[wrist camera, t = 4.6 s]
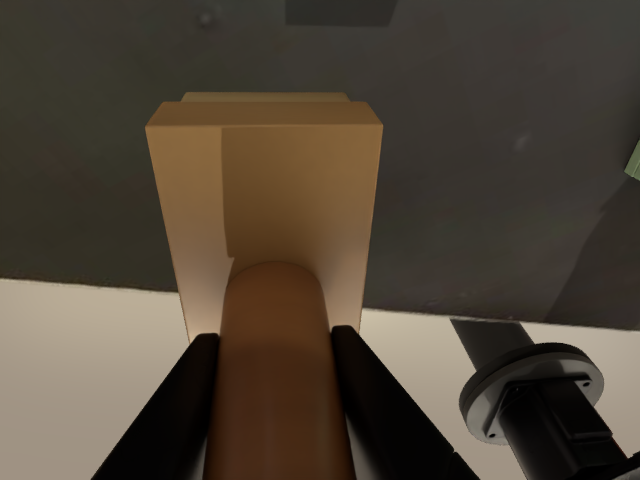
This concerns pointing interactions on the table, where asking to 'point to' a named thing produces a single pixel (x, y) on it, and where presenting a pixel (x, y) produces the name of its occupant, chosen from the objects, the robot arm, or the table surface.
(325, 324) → the brush
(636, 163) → the tray
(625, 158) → the table surface
